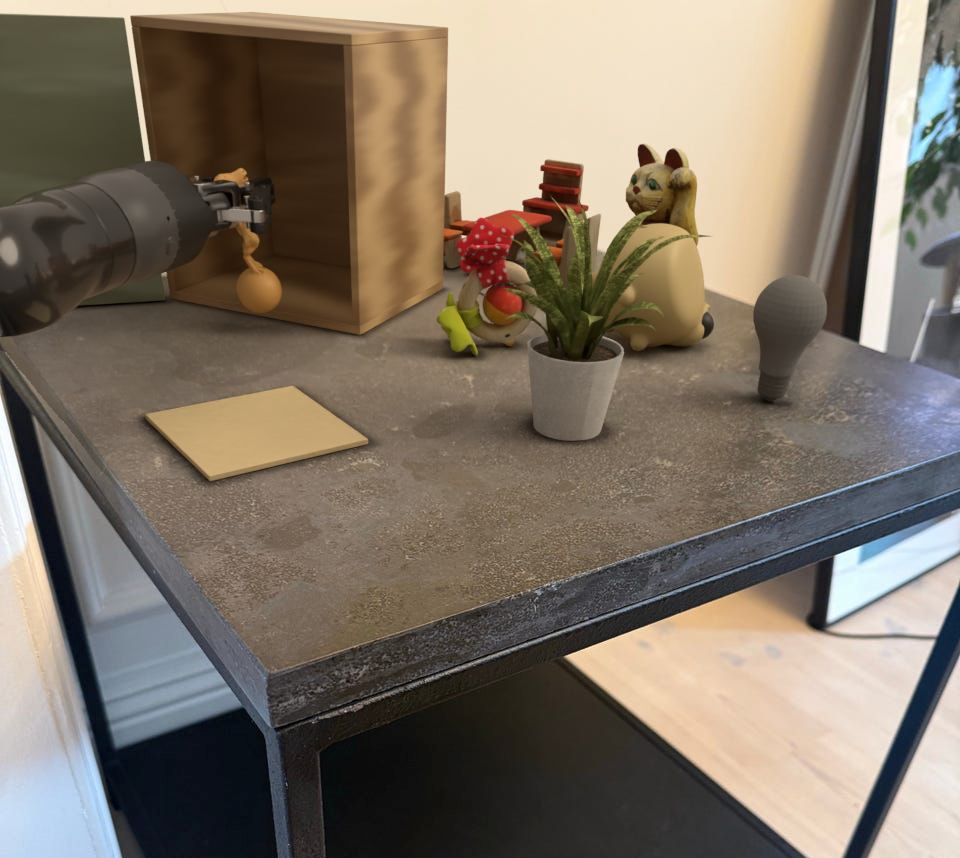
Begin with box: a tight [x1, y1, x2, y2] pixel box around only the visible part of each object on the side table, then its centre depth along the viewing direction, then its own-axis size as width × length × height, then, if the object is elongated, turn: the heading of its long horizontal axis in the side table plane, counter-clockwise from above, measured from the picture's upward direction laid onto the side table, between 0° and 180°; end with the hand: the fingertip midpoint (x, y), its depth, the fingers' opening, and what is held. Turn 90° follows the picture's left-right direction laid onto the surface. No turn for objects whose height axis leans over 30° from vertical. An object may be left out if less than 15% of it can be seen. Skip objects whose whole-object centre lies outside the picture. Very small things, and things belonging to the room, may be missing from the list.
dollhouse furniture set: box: [443, 158, 602, 292], centre depth 109 cm, size 19×19×10 cm
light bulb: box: [752, 274, 828, 402], centre depth 76 cm, size 6×6×10 cm
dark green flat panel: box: [0, 13, 166, 307], centre depth 85 cm, size 7×22×23 cm, turn 112°
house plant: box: [499, 198, 713, 442], centre depth 68 cm, size 14×14×16 cm
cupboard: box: [129, 11, 449, 336], centre depth 91 cm, size 18×22×24 cm
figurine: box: [214, 168, 282, 313], centre depth 83 cm, size 8×6×12 cm
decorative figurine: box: [625, 143, 699, 247], centre depth 97 cm, size 10×8×15 cm
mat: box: [144, 385, 369, 482], centre depth 69 cm, size 12×12×1 cm
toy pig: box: [592, 223, 715, 352], centre depth 87 cm, size 10×12×11 cm
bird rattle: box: [436, 217, 538, 357], centre depth 84 cm, size 6×11×9 cm
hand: (248, 188), depth 83 cm, fingers open, 3 cm apart
